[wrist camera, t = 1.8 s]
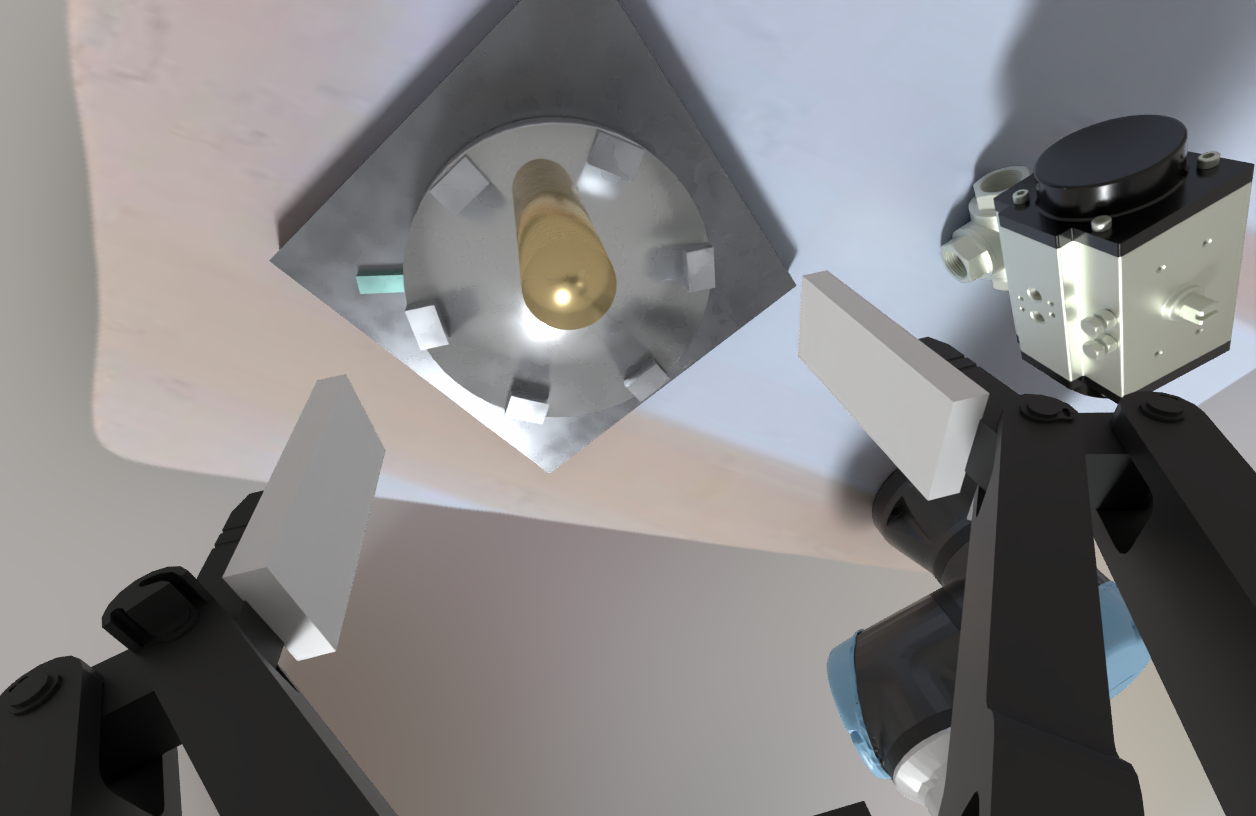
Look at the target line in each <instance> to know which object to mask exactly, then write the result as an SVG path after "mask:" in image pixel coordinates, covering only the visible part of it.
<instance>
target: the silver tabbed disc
mask: <svg viewBox="0 0 1256 816" xmlns="http://www.w3.org/2000/svg"><path fill="white" fill-rule="evenodd" d="M403 282H404V291H405V297H406V303H407V306H406V309H405V313H406V315H407V318H408V320H409V323H410V325H411V328H412V330H413V333H414V335H415V337H416V340H417V342H418V345H419V347H420V350H425V349H427V351H428V352H429V354H430V355H431V357H432V358H433V359H434V360H435V362H436V363H437V364H438V365H439V366H440V367H441V368H442V370H443V371H444V372H445V373H446V374H447V375H449V376H450V377H451V378H452V379H453V380H454V381H455V382H456V383H458V384H459V385H460V386H462V387H463V388H465V389H466V390H468V391H469V392H470V393H472V394H473V395H475V396H477V397H479V398H481V399H483V400H485V401H486V402H488V403H491V404H493V405H496V406H498V407H501V408H503V409H505V417H509V418H513V419H518V420H523V421H528V422H533V423H538V424H543V421H544V419H545V417H570V416H579V415H585V414H590V413H594V412H598V411H602V410H605V409H608V408H611V407H613V406H616V405H618V404H621V403H623V402H625V401H627V400H629V399H631V398H633V397H636V398H637V399H638V400H639V401H640V402H641V401H643V400H644V399H645V398H647V397H648V396H649V395H651V394H652V393H653V392H655V391H656V390H657V389H659V388H660V387H661V386H662V385H664V384H665V383H666V382H668V381H669V380H670V377H669V375H668V373H667V372H668V371H669V370H670V369H671V368H672V367H673V366H674V364H675V363H676V362H677V361H678V360H679V359H680V357H681V356H682V355H683V353H684V352H685V351H686V349H687V348H688V346H689V345H690V343H691V341H692V339H693V337H694V336H695V334H696V332H697V330H698V328H699V325H700V323H701V320H702V318H703V316H704V312H705V308H706V305H707V301H708V297H709V290H710V289H711V288H715V269H714V249H713V246H712V245H711V244H710V243H709V242H708V238H707V234H706V230H705V226H704V223H703V221H702V219H701V216H700V214H699V211H698V209H697V207H696V205H695V203H694V202H693V200H692V198H691V196H690V195H689V193H688V191H687V190H686V188H685V187H684V186H683V185H682V183H681V182H680V181H679V180H678V178H677V177H676V176H675V175H674V173H673V172H672V171H670V170H669V169H668V168H667V167H666V166H665V165H664V164H663V163H662V162H661V161H660V160H659V159H658V158H657V157H655V156H654V155H653V154H652V153H651V152H649V151H648V150H647V149H646V148H644V147H643V146H641V145H640V144H639V143H637V142H636V141H634V140H633V139H631V138H630V137H628V136H626V135H624V134H622V133H620V132H618V131H616V130H614V129H612V128H610V127H607V126H604V125H601V124H598V123H595V122H592V121H587V120H581V119H576V118H571V117H540V118H531V119H525V120H521V121H517V122H513V123H509V124H505V125H503V126H501V127H498V128H496V129H494V130H491V131H489V132H487V133H485V134H483V135H481V136H480V137H478V138H477V139H475V140H473V141H472V142H470V143H468V144H467V145H466V146H464V147H463V148H462V149H461V150H460V151H459V152H457V153H456V154H455V155H454V156H453V157H451V158H450V159H449V161H448V162H447V163H446V164H445V165H444V166H443V167H442V169H441V170H440V171H439V172H438V173H437V174H436V176H435V177H434V179H433V180H432V182H431V184H430V185H429V187H428V188H427V190H426V191H425V194H424V196H423V198H422V200H421V203H420V205H419V207H418V209H417V212H416V214H415V216H414V219H413V221H412V224H411V227H410V230H409V234H408V238H407V241H406V245H405V253H404V262H403Z"/></svg>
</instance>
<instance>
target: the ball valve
mask: <svg viewBox="0 0 1256 816" xmlns="http://www.w3.org/2000/svg"><path fill="white" fill-rule="evenodd" d="M1187 144H1188V131H1187V128H1186V126H1185V125H1184V124H1183V123H1182V122H1180V121H1179V120H1176V119H1174V118H1171V117H1167V116H1161V115H1136V116H1127V117H1121V118H1116V119H1111V120H1108V121H1104V122H1100V123H1097V124H1094V125H1091V126H1089V127H1086V128H1083V129H1081V130H1078V131H1076V132H1074V133H1072V134H1070V135H1068V136H1066V137H1064V138H1063V139H1061V140H1059V141H1058V142H1056V143H1055V144H1053V145H1052V146H1051V147H1049V148H1048V149H1047V150H1046V151H1045V152H1044V153H1043V154H1042V155H1041V156H1040V157H1039V159H1038V160H1037V162H1036V164H1035V167H1034V173H1033V174H1031V175H1030V172H1029V170H1028V168H1027V167H1026V166H1010V167H1004V168H1001V169H997V170H995V171H992V172H990V173H988V174H987V175H985V176H983V177H982V178H981V179H979V180H978V181H977V182H976V183H975V184H973V186H974V191H975V196H974V197H973V198H972V199H971V201H970V203H969V212H970V217H971V221H970V222H968V223H967V224H965V225H964V226H962V227H960V228H959V229H957V230H955V231H954V233H953V235H952V240H951V241H949V242H947V243H946V244H944V245H943V246H941V247H940V254H941V259H942V262H943V264H944V266H945V268H946V269H947V271H948V272H949V273H950V274H951V275H952V276H953V277H954V278H955V279H956V280H958V281H959V282H961V283H968V282H972V281H974V280H976V279H978V278H980V279H989V280H991V281H992V284H993V288H994V289H997V290H1004V291H1009V294H1010V300H1011V306H1012V312H1013V318H1014V324H1015V330H1016V336H1017V341H1018V343H1019V344H1020V348H1021V354H1022V359H1023V360H1025V361H1027V362H1028V363H1030V364H1031V365H1033V366H1034V367H1036V368H1037V369H1039V370H1041V371H1042V372H1044V373H1045V374H1047V375H1048V376H1050V377H1051V378H1053V379H1055V380H1056V381H1058V382H1059V383H1061V384H1062V385H1064V386H1066V387H1067V388H1069V389H1070V390H1074V391H1076V392H1078V393H1081V394H1083V395H1087V396H1091V397H1096V398H1108V399H1110V400H1112V401H1114V402H1115V403H1117V404H1118V403H1119V401H1120V400H1121V399H1122V397H1123V396H1124V395H1127V394H1129V393H1132V392H1141V391H1151V392H1152V391H1154V390H1156V389H1158V388H1160V387H1161V386H1163V385H1165V384H1167V383H1169V382H1171V381H1173V380H1175V379H1176V378H1178V377H1180V376H1182V375H1184V374H1186V373H1188V372H1189V371H1191V370H1193V369H1195V368H1197V367H1199V366H1201V365H1203V364H1204V363H1206V362H1208V361H1210V360H1212V359H1214V358H1216V357H1218V356H1219V355H1221V354H1223V353H1225V352H1227V351H1229V350H1230V343H1231V335H1232V328H1233V321H1234V313H1235V306H1236V298H1237V291H1238V283H1239V276H1240V269H1241V261H1242V254H1243V246H1244V239H1245V231H1246V224H1247V217H1248V209H1249V202H1250V194H1251V187H1252V179H1253V172H1254V164H1252V163H1246V162H1241V161H1236V160H1230V159H1225V158H1220V153H1219V152H1215V151H1211V152H1206V153H1203V154H1199V153H1193V152H1188V151H1187Z"/></svg>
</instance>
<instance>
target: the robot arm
mask: <svg viewBox="0 0 1256 816" xmlns="http://www.w3.org/2000/svg"><path fill="white" fill-rule="evenodd" d="M798 357H799V358H800V359H801V360H802V361H803V362H804V364H805V365H806V366H807V367H808V368H809V369H810V370H811V371H812V372H813V374H814V375H815V376H816V377H817V378H818V379H819V380H820V381H821V382H822V384H823V385H824V386H825V387H826V388H827V389H828V390H829V391H830V392H831V394H832V395H833V396H834V397H835V398H836V399H837V400H838V401H839V402H840V404H841V405H842V406H843V407H844V408H845V409H846V410H847V411H848V412H849V414H850V415H851V416H852V417H853V418H854V419H855V420H856V421H857V422H858V424H859V425H860V426H861V427H862V428H863V429H864V430H865V431H866V432H867V434H868V435H869V436H870V437H871V438H872V439H873V440H874V441H875V442H876V444H877V445H878V446H879V447H880V448H881V449H882V450H883V451H884V452H885V454H886V455H887V456H888V457H889V458H890V459H891V460H892V461H893V462H894V464H895V465H896V466H897V467H898V468H899V469H897V470H896V471H895V472H894V473H893V474H892V475H891V476H890V477H889V478H888V480H887V481H886V482H885V483H884V485H883V486H882V488H881V489H880V491H879V493H878V494H877V496H876V499H875V501H874V504H873V509H872V518H873V522H874V524H875V526H876V528H877V529H878V530H879V532H880V533H881V534H882V536H883V537H884V538H885V540H886V541H887V542H888V543H889V544H890V545H892V546H893V547H894V548H896V549H897V550H899V551H900V552H902V553H903V554H904V555H906V556H907V557H909V558H910V559H912V560H913V561H915V562H916V563H918V564H919V565H921V566H922V567H923V568H925V569H926V570H928V571H929V572H931V573H932V574H933V575H934V576H935V578H936V579H937V580H938V582H939V583H940V584H941V585H942V588H940V589H938V590H936V591H935V592H933V593H931V594H929V595H927V596H925V597H923V598H922V599H920V600H918V601H916V602H914V603H912V604H911V605H909V606H907V607H905V608H903V609H902V610H900V611H898V612H896V613H894V614H892V615H891V616H889V617H887V618H885V619H883V620H881V621H880V622H878V623H876V624H874V625H872V626H871V627H869V628H867V629H865V630H864V629H860V630H858V631H857V632H855V634H854V635H853V637H851V638H849V639H848V640H846V641H844V642H843V643H841V644H839V645H838V646H836V647H835V648H834V649H833V650H832V651H831V652H830V655H829V658H828V661H827V675H828V681H829V685H830V688H831V692H832V695H833V698H834V701H835V704H836V706H837V709H838V711H839V714H840V717H841V719H842V722H843V724H844V726H845V728H846V730H847V731H848V732H849V733H850V734H851V738H852V741H853V744H854V746H855V748H856V750H857V752H858V753H859V755H860V757H861V758H862V760H863V761H864V763H865V764H866V766H867V767H868V768H869V770H870V771H871V772H872V773H873V774H874V775H875V776H877V777H878V778H882V779H885V778H886V779H892V780H893V783H894V784H895V786H896V788H897V790H898V791H899V793H901V794H902V795H903V796H905V797H907V798H909V799H911V800H913V801H915V802H917V803H919V804H921V805H924V806H925V807H926V808H927V809H928V811H929V813H930V815H931V816H1144V808H1143V800H1142V793H1141V789H1140V784H1139V780H1138V776H1137V774H1136V772H1135V770H1134V768H1133V766H1132V764H1130V763H1128V762H1126V761H1125V760H1123V759H1121V758H1119V756H1118V754H1117V752H1116V748H1115V743H1114V735H1113V725H1112V715H1111V706H1110V700H1111V699H1112V698H1113V697H1114V696H1116V695H1117V694H1118V693H1119V692H1121V691H1122V690H1123V689H1125V688H1126V687H1127V686H1128V685H1129V684H1130V683H1131V682H1132V681H1133V680H1134V679H1135V678H1136V677H1137V676H1138V675H1139V674H1140V673H1141V672H1142V670H1143V669H1144V668H1145V667H1146V665H1147V664H1148V662H1149V661H1150V659H1152V661H1153V663H1154V665H1155V667H1156V670H1157V672H1158V674H1159V676H1160V678H1161V680H1162V682H1163V684H1164V686H1165V688H1166V691H1167V693H1168V695H1169V697H1170V699H1171V701H1172V703H1173V705H1174V707H1175V709H1176V712H1177V714H1178V716H1179V718H1180V720H1181V722H1182V724H1183V726H1184V729H1185V731H1186V733H1187V735H1188V737H1189V739H1190V741H1191V743H1192V745H1193V747H1194V749H1195V751H1196V754H1197V756H1198V758H1199V760H1200V762H1201V764H1202V766H1203V769H1204V771H1205V773H1206V775H1207V777H1208V779H1209V781H1210V783H1211V785H1212V788H1213V790H1214V792H1215V794H1216V795H1217V798H1218V800H1219V802H1220V804H1221V806H1222V809H1223V811H1224V813H1225V815H1226V816H1256V473H1255V471H1254V470H1253V469H1252V468H1251V467H1250V465H1249V464H1248V463H1247V462H1246V461H1245V459H1244V458H1243V457H1242V456H1241V455H1240V454H1239V453H1238V451H1237V450H1236V449H1235V448H1234V447H1233V445H1232V444H1231V443H1230V442H1229V441H1228V440H1227V438H1226V437H1225V436H1224V435H1223V434H1222V433H1221V431H1220V430H1219V429H1218V428H1217V427H1216V425H1215V424H1214V423H1213V422H1212V421H1211V420H1210V418H1209V417H1208V416H1207V415H1206V414H1205V413H1204V412H1203V411H1202V410H1201V409H1200V408H1198V407H1197V406H1196V405H1195V404H1193V403H1190V402H1188V401H1186V400H1184V399H1182V398H1180V397H1177V396H1174V395H1170V394H1167V393H1162V392H1151V391H1141V392H1132V393H1129V394H1127V395H1124V396H1123V397H1122V399H1121V400H1120V401H1119V403H1118V405H1117V408H1116V410H1115V412H1114V413H1078V411H1076V410H1075V409H1074V408H1073V407H1071V406H1070V405H1069V404H1067V403H1065V402H1062V401H1060V400H1058V399H1056V398H1052V397H1048V396H1044V395H1035V394H1024V395H1019V394H1017V393H1016V392H1014V391H1013V390H1012V389H1010V388H1009V387H1007V386H1006V385H1005V384H1003V383H1002V382H1000V381H999V380H998V379H996V378H995V377H993V376H992V375H991V374H989V373H988V372H986V371H985V370H984V369H982V368H981V367H977V366H976V364H975V363H974V362H973V361H971V360H970V359H968V358H964V355H963V354H961V353H960V352H959V351H957V350H956V349H954V348H953V347H952V346H950V345H949V344H946V343H943V342H941V341H938V340H935V339H933V338H930V337H925V338H921V339H917V338H916V337H914V336H913V335H912V334H910V333H909V332H908V331H906V330H905V329H904V328H902V327H901V326H900V325H899V324H897V323H896V322H895V321H893V320H892V319H891V318H889V317H888V316H887V315H885V314H884V313H883V312H881V311H880V310H879V309H877V308H876V307H875V306H873V305H872V304H871V303H869V302H868V301H867V300H866V299H864V298H863V297H862V296H860V295H859V294H858V293H856V292H855V291H854V290H852V289H851V288H850V287H848V286H847V285H846V284H844V283H843V282H842V281H840V280H839V279H838V278H836V277H835V276H834V275H833V274H831V273H830V272H829V271H822V272H818V273H813V274H809V275H804V276H802V292H801V311H800V330H799V350H798ZM384 454H385V449H384V447H383V445H382V443H381V441H380V439H379V437H378V435H377V433H376V431H375V429H374V427H373V425H372V424H371V422H370V420H369V418H368V416H367V414H366V412H365V410H364V408H363V406H362V404H361V402H360V400H359V399H358V397H357V395H356V393H355V391H354V389H353V387H352V385H351V383H350V381H349V379H348V377H347V375H346V374H345V375H340V376H336V377H331V378H326V379H322V380H317V382H316V384H315V386H314V388H313V390H312V393H311V395H310V397H309V399H308V401H307V403H306V405H305V407H304V409H303V411H302V413H301V415H300V417H299V419H298V422H297V424H296V426H295V428H294V430H293V432H292V434H291V436H290V438H289V440H288V442H287V444H286V446H285V448H284V451H283V453H282V455H281V457H280V459H279V461H278V463H277V465H276V467H275V469H274V471H273V473H272V475H271V478H270V480H269V482H268V484H267V486H266V488H265V490H264V491H259V492H255V493H251V494H249V495H248V496H247V497H246V498H245V499H244V500H243V501H242V502H241V503H240V504H239V505H238V506H237V507H236V508H235V509H234V510H233V511H232V512H231V514H230V516H229V518H228V520H227V522H226V524H225V526H224V528H223V530H222V531H223V533H221V534H220V535H219V537H218V539H217V541H216V543H215V548H214V549H212V551H211V553H210V554H209V556H208V558H207V560H206V562H205V564H204V566H203V567H202V569H201V571H200V573H199V575H198V577H197V579H196V578H195V577H194V576H193V575H192V574H191V573H190V572H189V571H188V570H186V569H184V568H183V567H181V566H177V567H165V568H163V569H159V570H156V571H153V572H151V573H149V574H147V575H145V576H143V577H141V578H139V579H137V580H136V581H134V582H133V583H132V584H130V585H129V586H128V587H126V588H125V589H124V590H122V591H121V592H120V593H119V594H118V595H117V596H116V597H115V598H114V599H113V600H112V601H111V603H110V604H109V605H108V607H107V609H106V610H105V612H104V614H103V616H102V628H104V629H105V630H106V631H107V632H109V633H110V634H111V635H112V636H113V637H115V638H116V639H117V640H118V641H119V642H121V643H122V644H123V645H124V646H126V647H127V648H128V650H126V651H124V652H122V653H120V654H118V655H116V656H113V657H111V658H109V659H107V660H105V661H103V662H101V663H99V664H97V665H95V666H92V667H90V666H89V665H87V664H86V663H85V662H83V661H82V660H81V659H79V658H76V657H73V656H65V657H58V658H55V659H53V660H50V661H48V662H46V663H43V664H41V665H39V666H37V667H36V668H34V669H32V670H31V671H29V672H28V673H26V674H24V675H23V676H21V677H20V678H19V679H17V680H16V681H15V682H14V683H12V684H11V685H10V686H9V687H8V688H7V689H6V690H5V691H4V692H3V693H2V694H1V696H0V816H182V810H181V796H180V780H179V766H178V751H177V746H179V745H181V744H183V746H184V748H185V750H186V752H187V754H188V756H189V758H190V760H191V761H192V763H193V765H194V767H195V769H196V771H197V773H198V775H199V777H200V778H201V780H202V782H203V784H204V786H205V788H206V790H207V792H208V794H209V795H210V797H211V799H212V801H213V803H214V805H215V807H216V809H217V811H218V813H219V814H220V816H398V815H397V814H396V813H395V811H394V810H393V809H392V808H391V806H390V805H389V804H388V802H387V801H386V800H385V799H384V797H383V796H382V795H381V794H380V792H379V791H378V790H377V788H376V787H375V786H374V785H373V783H372V782H371V781H370V779H369V778H368V777H367V776H366V774H365V773H364V772H363V771H362V769H361V768H360V767H359V766H358V764H357V763H356V762H355V761H354V759H353V758H352V757H351V755H350V754H349V753H348V751H347V750H346V749H345V748H344V746H343V745H342V744H341V743H340V741H339V740H338V739H337V737H336V736H335V735H334V734H333V732H332V731H331V730H330V729H329V727H328V726H327V725H326V723H325V722H324V721H323V720H322V718H321V717H320V716H319V715H318V713H317V712H316V711H315V710H314V708H313V707H312V706H311V704H310V703H309V702H308V700H307V699H306V698H305V697H304V696H303V694H302V693H301V692H300V690H299V689H298V688H297V686H296V685H295V684H294V683H293V681H292V680H291V679H290V678H289V676H288V675H287V674H286V672H285V671H284V670H283V669H282V668H281V667H280V666H279V665H278V660H279V658H280V655H281V652H282V649H283V646H285V647H286V648H287V649H288V650H289V652H290V653H291V654H292V655H293V656H294V657H295V658H296V659H297V660H298V661H299V660H303V659H307V658H311V657H315V656H319V655H323V654H327V653H331V652H335V651H336V648H337V644H338V640H339V636H340V632H341V627H342V624H343V619H344V616H345V611H346V608H347V604H348V599H349V596H350V592H351V588H352V583H353V579H354V575H355V571H356V567H357V563H358V559H359V555H360V551H361V547H362V543H363V538H364V535H365V531H366V526H367V523H368V519H369V515H370V511H371V506H372V503H373V499H374V495H375V491H376V487H377V482H378V478H379V474H380V470H381V466H382V462H383V458H384ZM1093 537H1094V538H1093ZM1094 539H1095V541H1096V543H1097V545H1098V547H1099V549H1100V552H1101V554H1102V556H1103V558H1104V560H1105V562H1106V564H1107V566H1108V568H1109V570H1110V573H1111V575H1112V577H1113V579H1114V581H1115V583H1114V582H1113V581H1110V580H1109V579H1108V578H1107V577H1106V576H1105V575H1104V574H1102V573H1101V572H1100V571H1099V570H1098V569H1097V567H1096V558H1095V548H1094ZM815 816H871V814H870V812H869V810H868V808H867V806H866V804H865V802H864V801H862V802H858V803H855V804H852V805H848V806H845V807H842V808H838V809H835V810H831V811H828V812H825V813H821V814H818V815H815Z"/></svg>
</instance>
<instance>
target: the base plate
mask: <svg viewBox="0 0 1256 816" xmlns="http://www.w3.org/2000/svg"><path fill="white" fill-rule="evenodd" d="M540 117H571V118H576V119H581V120H587V121H592V122H595V123H598V124H601V125H604V126H607V127H610V128H612V129H614V130H616V131H618V132H620V133H622V134H624V135H626V136H628V137H630V138H631V139H633V140H634V141H636V142H637V143H639V144H640V145H641V146H643V147H644V148H646V149H647V150H648V151H649V152H651V153H652V154H653V155H654V156H655V157H657V158H658V159H659V160H660V161H661V162H662V163H663V164H664V165H665V166H666V167H667V168H668V169H669V170H670V171H672V172H673V173H674V175H675V176H676V177H677V178H678V180H679V181H680V182H681V183H682V185H683V186H684V187H685V188H686V190H687V191H688V193H689V195H690V196H691V198H692V200H693V202H694V203H695V205H696V207H697V209H698V211H699V214H700V216H701V219H702V221H703V223H704V226H705V230H706V234H707V238H708V242H709V243H710V244H711V245H712V246H713V249H714V269H715V288H711V289H710V290H709V297H708V301H707V305H706V308H705V312H704V316H703V318H702V320H701V323H700V325H699V328H698V330H697V332H696V334H695V336H694V337H693V339H692V341H691V343H690V345H689V346H688V348H687V349H686V351H685V352H684V353H683V355H682V356H681V357H680V359H679V360H678V361H677V362H676V363H675V364H674V366H673V367H672V368H671V369H670V370H669V371H668V372H667V373H668V375H669V377H670V380H669V381H668V382H666V383H665V384H664V385H662V386H661V387H660V388H659V389H657V390H656V391H655V392H653V393H652V394H651V395H649V396H648V397H647V398H645V399H644V400H643V401H641V402H640V401H639V400H638V399H637V398H636V397H633V398H631V399H629V400H627V401H625V402H623V403H621V404H618V405H616V406H613V407H611V408H608V409H605V410H602V411H598V412H594V413H590V414H585V415H579V416H570V417H545V419H544V421H543V424H538V423H533V422H528V421H523V420H518V419H513V418H509V417H505V409H503V408H501V407H498V406H496V405H493V404H491V403H488V402H486V401H485V400H483V399H481V398H479V397H477V396H475V395H473V394H472V393H470V392H469V391H468V390H466V389H465V388H463V387H462V386H460V385H459V384H458V383H456V382H455V381H454V380H453V379H452V378H451V377H450V376H449V375H447V374H446V373H445V372H444V371H443V370H442V368H441V367H440V366H439V365H438V364H437V363H436V362H435V360H434V359H433V358H432V357H431V355H430V354H429V352H428V351H427V349H425V350H420V347H419V345H418V342H417V340H416V337H415V335H414V333H413V330H412V328H411V325H410V323H409V320H408V318H407V315H406V313H405V309H406V306H407V303H406V297H405V291H404V282H403V262H404V253H405V245H406V241H407V238H408V234H409V230H410V227H411V224H412V221H413V219H414V216H415V214H416V212H417V209H418V207H419V205H420V203H421V200H422V198H423V196H424V194H425V191H426V190H427V188H428V187H429V185H430V184H431V182H432V180H433V179H434V177H435V176H436V174H437V173H438V172H439V171H440V170H441V169H442V167H443V166H444V165H445V164H446V163H447V162H448V161H449V159H450V158H451V157H453V156H454V155H455V154H456V153H457V152H459V151H460V150H461V149H462V148H463V147H464V146H466V145H467V144H468V143H470V142H472V141H473V140H475V139H477V138H478V137H480V136H481V135H483V134H485V133H487V132H489V131H491V130H494V129H496V128H498V127H501V126H503V125H505V124H509V123H513V122H517V121H521V120H525V119H531V118H540ZM270 262H271V263H273V264H274V265H275V266H277V267H278V268H279V269H281V270H282V271H283V272H285V273H286V274H287V275H289V276H290V277H291V278H293V279H294V280H295V281H296V282H298V283H299V284H300V285H302V286H303V287H304V288H306V289H307V290H308V291H310V292H311V293H312V294H314V295H315V296H316V297H318V298H319V299H320V300H321V301H323V302H324V303H325V304H327V305H328V306H329V307H331V308H332V309H333V310H335V311H336V312H337V313H339V314H340V315H341V316H343V317H344V318H345V319H346V320H348V321H349V322H350V323H352V324H353V325H354V326H356V327H357V328H358V329H360V330H361V331H362V332H364V333H365V334H366V335H368V336H369V337H370V338H371V339H373V340H374V341H375V342H377V343H378V344H379V345H381V346H382V347H383V348H385V349H386V350H387V351H389V352H390V353H391V354H392V355H394V356H395V357H396V358H398V359H399V360H400V361H402V362H403V363H404V364H406V365H407V366H408V367H410V368H411V369H412V370H414V371H415V372H416V373H417V374H419V375H420V376H421V377H423V378H424V379H425V380H427V381H428V382H429V383H431V384H432V385H433V386H435V387H436V388H437V389H439V390H440V391H441V392H442V393H444V394H445V395H446V396H448V397H449V398H450V399H452V400H453V401H454V402H456V403H457V404H458V405H460V406H461V407H462V408H464V409H465V410H466V411H467V412H469V413H470V414H471V415H473V416H474V417H475V418H477V419H478V420H479V421H481V422H482V423H483V424H485V425H486V426H487V427H489V428H490V429H491V430H492V431H494V432H495V433H496V434H498V435H499V436H500V437H502V438H503V439H504V440H506V441H507V442H508V443H510V444H511V445H512V446H513V447H515V448H516V449H517V450H519V451H520V452H521V453H523V454H524V455H525V456H527V457H528V458H529V459H531V460H532V461H533V462H535V463H536V464H537V465H538V466H540V467H541V468H542V469H544V470H545V471H546V472H548V473H551V472H552V471H553V470H555V469H556V468H557V467H559V466H560V465H561V464H563V463H564V462H565V461H567V460H568V459H569V458H570V457H572V456H573V455H574V454H576V453H577V452H578V451H580V450H581V449H582V448H584V447H585V446H586V445H588V444H589V443H590V442H592V441H593V440H594V439H595V438H597V437H598V436H599V435H601V434H602V433H603V432H605V431H606V430H607V429H609V428H610V427H611V426H613V425H614V424H615V423H616V422H618V421H619V420H620V419H622V418H623V417H624V416H626V415H627V414H628V413H630V412H631V411H632V410H634V409H635V408H636V407H637V406H639V405H640V404H641V403H643V402H644V401H645V400H647V399H648V398H649V397H651V396H652V395H653V394H655V393H656V392H657V391H659V390H660V389H661V388H662V387H664V386H665V385H666V384H668V383H669V382H670V381H672V380H673V379H674V378H676V377H677V376H678V375H680V374H681V373H682V372H683V371H685V370H686V369H687V368H689V367H690V366H691V365H693V364H694V363H695V362H697V361H698V360H699V359H701V358H702V357H703V356H704V355H706V354H707V353H708V352H710V351H711V350H712V349H714V348H715V347H716V346H718V345H719V344H720V343H722V342H723V341H724V340H725V339H727V338H728V337H729V336H731V335H732V334H733V333H735V332H736V331H737V330H739V329H740V328H741V327H743V326H744V325H745V324H747V323H748V322H749V321H750V320H752V319H753V318H754V317H756V316H757V315H758V314H760V313H761V312H762V311H764V310H765V309H766V308H768V307H769V306H770V305H771V304H773V303H774V302H775V301H777V300H778V299H779V298H781V297H782V296H783V295H785V294H786V293H787V292H789V291H790V290H791V289H792V288H794V287H795V286H796V284H795V282H794V281H793V279H792V277H791V276H790V274H789V273H788V271H787V270H786V268H785V266H784V265H783V263H782V262H781V260H780V258H779V257H778V255H777V254H776V252H775V250H774V249H773V247H772V246H771V244H770V242H769V241H768V239H767V238H766V236H765V234H764V233H763V231H762V230H761V228H760V226H759V225H758V223H757V222H756V220H755V218H754V217H753V215H752V214H751V212H750V210H749V209H748V207H747V206H746V204H745V202H744V201H743V199H742V198H741V196H740V195H739V193H738V191H737V190H736V188H735V187H734V185H733V183H732V182H731V180H730V179H729V177H728V175H727V174H726V172H725V171H724V169H723V167H722V166H721V164H720V163H719V161H718V159H717V158H716V156H715V155H714V153H713V151H712V150H711V148H710V147H709V145H708V143H707V142H706V140H705V139H704V137H703V135H702V134H701V132H700V131H699V129H698V127H697V126H696V124H695V123H694V121H693V119H692V118H691V116H690V115H689V113H688V112H687V110H686V108H685V107H684V105H683V104H682V102H681V100H680V99H679V97H678V96H677V94H676V92H675V91H674V89H673V88H672V86H671V84H670V83H669V81H668V80H667V78H666V76H665V75H664V73H663V72H662V70H661V68H660V67H659V65H658V64H657V62H656V60H655V59H654V57H653V56H652V54H651V52H650V51H649V49H648V48H647V46H646V44H645V43H644V41H643V40H642V38H641V37H640V35H639V33H638V32H637V30H636V29H635V27H634V25H633V24H632V22H631V21H630V19H629V17H628V16H627V14H626V13H625V11H624V9H623V8H622V6H621V5H620V3H619V1H618V0H520V2H519V3H518V4H517V5H516V6H515V7H514V8H513V9H512V10H511V11H510V12H509V13H508V14H507V15H506V16H505V17H504V18H503V19H502V20H501V21H500V22H499V23H498V24H497V25H496V26H495V27H494V28H493V29H492V30H491V32H490V33H489V34H488V35H487V36H486V37H485V38H484V39H483V40H482V41H481V42H480V43H479V44H478V45H477V46H476V47H475V48H474V49H473V50H472V51H471V52H470V53H469V54H468V55H467V56H466V57H465V58H464V59H463V61H462V62H461V63H460V64H459V65H458V66H457V67H456V68H455V69H454V70H453V71H452V72H451V73H450V74H449V75H448V76H447V77H446V78H445V79H444V80H443V81H442V82H441V83H440V84H439V85H438V86H437V87H436V88H435V89H434V91H433V92H432V93H431V94H430V95H429V96H428V97H427V98H426V99H425V100H424V101H423V102H422V103H421V104H420V105H419V106H418V107H417V108H416V109H415V110H414V111H413V112H412V113H411V114H410V115H409V116H408V117H407V118H406V120H405V121H404V122H403V123H402V124H401V125H400V126H399V127H398V128H397V129H396V130H395V131H394V132H393V133H392V134H391V135H390V136H389V137H388V138H387V139H386V140H385V141H384V142H383V143H382V144H381V145H380V146H379V147H378V148H377V150H376V151H375V152H374V153H373V154H372V155H371V156H370V157H369V158H368V159H367V160H366V161H365V162H364V163H363V164H362V165H361V166H360V167H359V168H358V169H357V170H356V171H355V172H354V173H353V174H352V175H351V176H350V177H349V179H348V180H347V181H346V182H345V183H344V184H343V185H342V186H341V187H340V188H339V189H338V190H337V191H336V192H335V193H334V194H333V195H332V196H331V197H330V198H329V199H328V200H327V201H326V202H325V203H324V204H323V205H322V206H321V207H320V209H319V210H318V211H317V212H316V213H315V214H314V215H313V216H312V217H311V218H310V219H309V220H308V221H307V222H306V223H305V224H304V225H303V226H302V227H301V228H300V229H299V230H298V231H297V232H296V233H295V234H294V235H293V236H292V238H291V239H290V240H289V241H288V242H287V243H286V244H285V245H284V246H283V247H282V248H281V249H280V250H279V251H278V252H277V253H276V254H275V255H274V256H273V257H272V258H271V259H270Z"/></svg>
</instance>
